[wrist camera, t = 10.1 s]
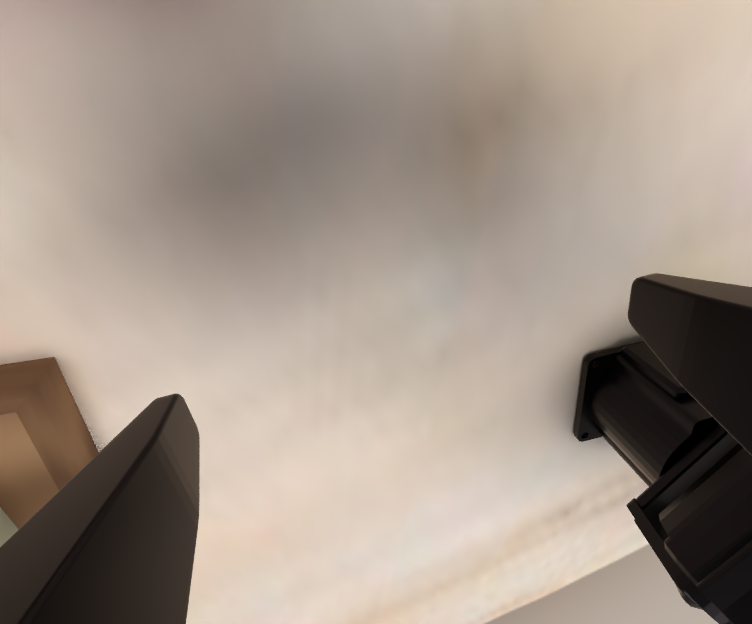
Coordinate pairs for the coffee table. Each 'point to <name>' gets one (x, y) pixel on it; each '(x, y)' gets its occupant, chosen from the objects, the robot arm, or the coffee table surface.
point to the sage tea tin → (6, 527)
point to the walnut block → (38, 437)
